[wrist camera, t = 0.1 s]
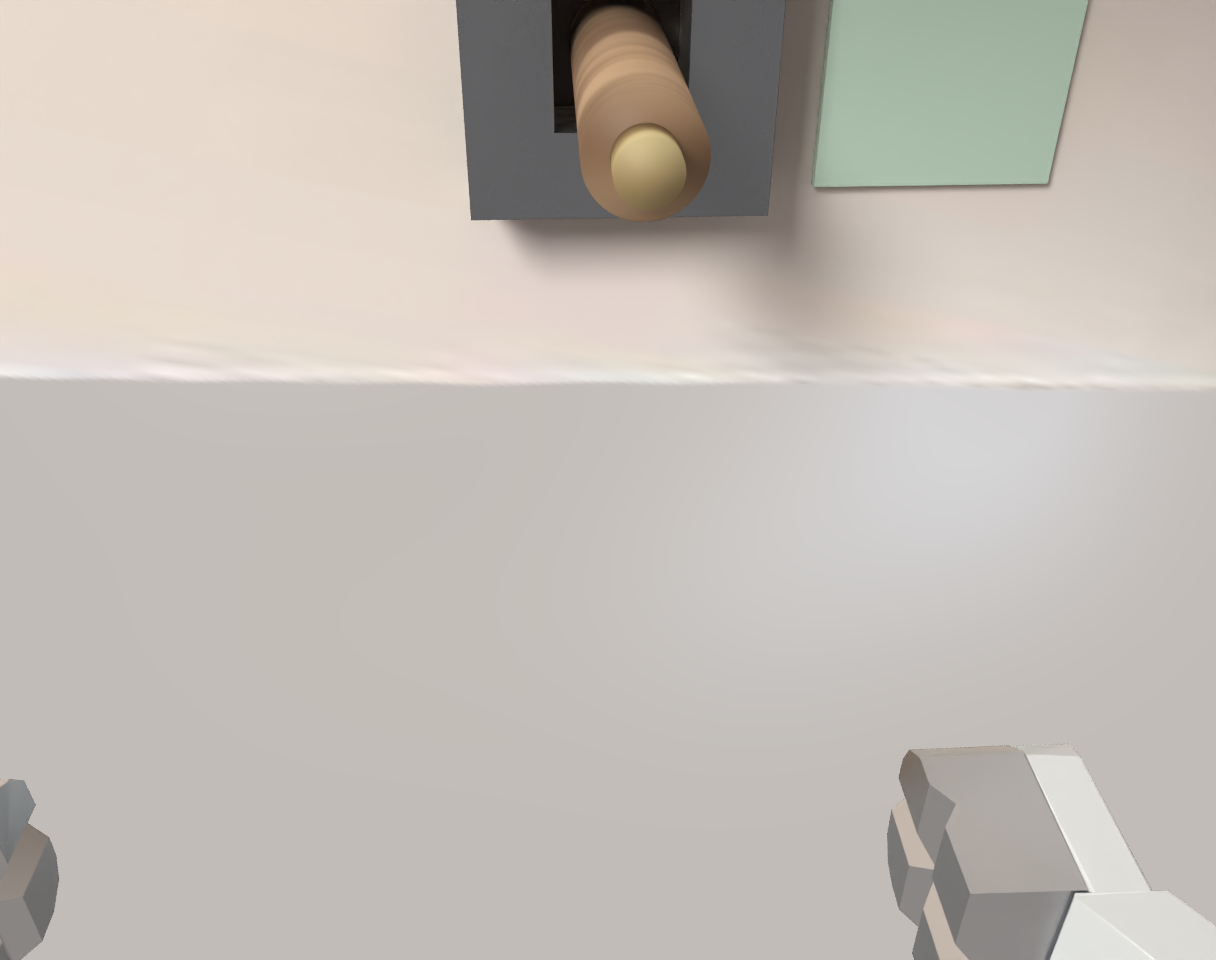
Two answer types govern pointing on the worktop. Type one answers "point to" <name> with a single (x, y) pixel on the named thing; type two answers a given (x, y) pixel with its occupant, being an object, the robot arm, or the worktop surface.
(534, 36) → the housing
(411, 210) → the worktop surface
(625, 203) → the bottle
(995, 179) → the mat
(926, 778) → the robot arm
